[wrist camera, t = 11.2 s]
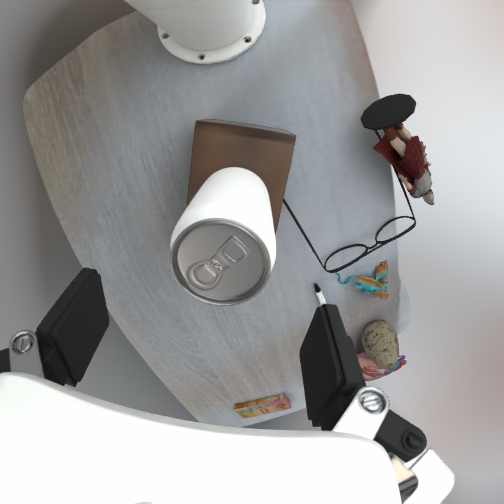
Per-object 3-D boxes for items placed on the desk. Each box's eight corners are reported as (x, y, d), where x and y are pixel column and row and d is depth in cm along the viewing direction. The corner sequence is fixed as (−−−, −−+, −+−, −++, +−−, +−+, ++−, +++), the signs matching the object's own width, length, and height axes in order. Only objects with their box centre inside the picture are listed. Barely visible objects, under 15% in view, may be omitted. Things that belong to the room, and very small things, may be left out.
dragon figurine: (338, 312, 41) (387, 312, 37) (329, 292, 36) (387, 291, 32) (341, 276, 45) (388, 275, 41) (333, 252, 39) (387, 249, 36)
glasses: (320, 261, 38) (326, 278, 33) (264, 167, 33) (262, 172, 29) (406, 213, 34) (422, 223, 29) (359, 115, 29) (372, 111, 25)
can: (186, 198, 25) (141, 262, 15) (236, 151, 23) (219, 184, 13) (233, 243, 28) (220, 327, 17) (283, 202, 26) (302, 270, 15)
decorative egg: (353, 337, 45) (367, 381, 36) (362, 312, 42) (381, 357, 33) (381, 335, 45) (398, 377, 36) (392, 311, 42) (414, 353, 34)
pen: (341, 355, 47) (342, 359, 46) (311, 281, 39) (312, 285, 38) (345, 353, 47) (347, 357, 46) (316, 279, 39) (318, 283, 38)
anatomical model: (329, 361, 51) (384, 375, 52) (329, 385, 46) (386, 397, 47) (360, 332, 45) (416, 349, 45) (362, 357, 40) (421, 372, 41)
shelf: (197, 226, 36) (183, 256, 29) (210, 118, 29) (195, 120, 22) (265, 236, 36) (268, 269, 29) (286, 130, 30) (296, 135, 23)
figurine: (424, 92, 20) (458, 192, 28) (373, 95, 26) (417, 181, 34) (399, 129, 20) (439, 230, 28) (346, 127, 26) (396, 214, 34)
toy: (283, 400, 52) (291, 409, 54) (283, 393, 54) (290, 402, 56) (233, 411, 55) (243, 419, 57) (233, 404, 56) (243, 413, 59)
